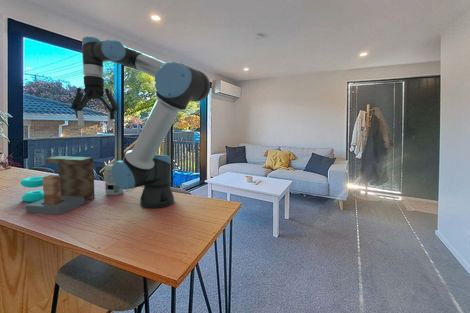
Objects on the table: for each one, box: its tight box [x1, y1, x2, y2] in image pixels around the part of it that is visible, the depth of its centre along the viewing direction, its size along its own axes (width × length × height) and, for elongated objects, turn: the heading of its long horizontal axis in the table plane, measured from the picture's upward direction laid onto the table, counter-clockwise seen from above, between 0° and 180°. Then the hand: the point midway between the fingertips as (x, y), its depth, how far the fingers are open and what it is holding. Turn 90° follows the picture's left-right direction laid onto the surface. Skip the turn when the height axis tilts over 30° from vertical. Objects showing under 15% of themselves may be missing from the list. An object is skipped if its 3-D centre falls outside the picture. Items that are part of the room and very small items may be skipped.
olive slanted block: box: [45, 155, 96, 201], centre depth 110 cm, size 16×8×20 cm, turn 86°
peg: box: [41, 174, 61, 205], centre depth 98 cm, size 4×4×14 cm
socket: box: [25, 196, 85, 216], centre depth 101 cm, size 14×14×3 cm
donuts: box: [20, 176, 44, 203], centre depth 110 cm, size 10×10×10 cm
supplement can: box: [104, 163, 124, 196], centre depth 123 cm, size 8×8×15 cm
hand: (95, 126), depth 105 cm, fingers open, 13 cm apart
